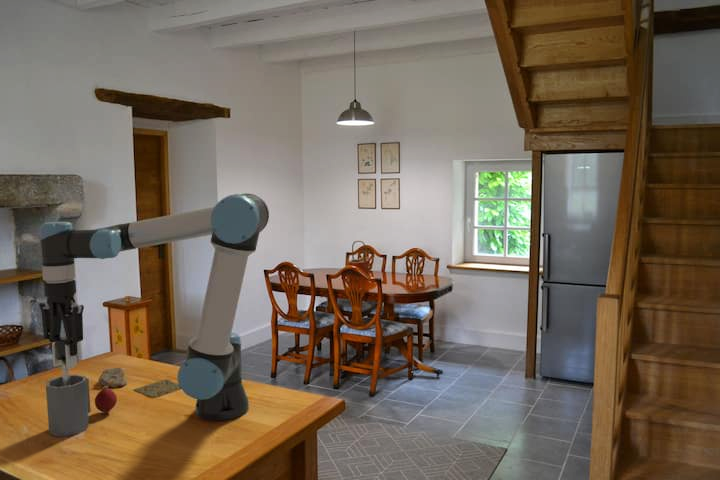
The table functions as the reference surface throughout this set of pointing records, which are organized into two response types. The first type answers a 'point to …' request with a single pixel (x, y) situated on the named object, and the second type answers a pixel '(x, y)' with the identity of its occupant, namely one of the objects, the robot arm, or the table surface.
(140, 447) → the table surface
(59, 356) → the plunger
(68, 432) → the press carafe
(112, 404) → the onion
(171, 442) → the table surface
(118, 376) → the rock
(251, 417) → the table surface
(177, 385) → the grey porous flat square
